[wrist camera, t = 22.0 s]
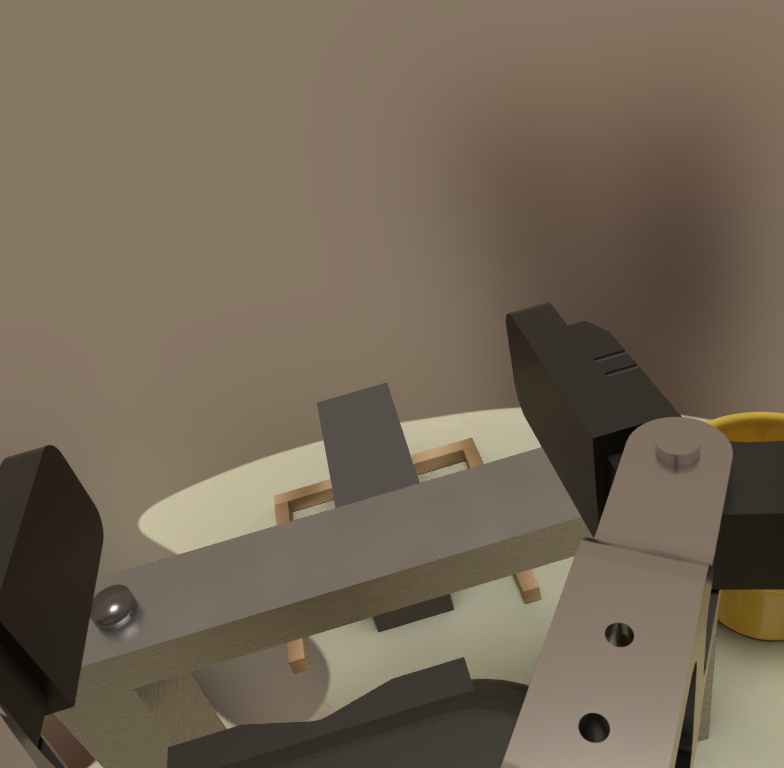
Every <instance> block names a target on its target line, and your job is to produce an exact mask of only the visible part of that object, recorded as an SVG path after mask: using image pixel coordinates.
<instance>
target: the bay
mask: <svg viewBox="0 0 784 768" xmlns="http://www.w3.org/2000/svg"><path fill="white" fill-rule="evenodd" d="M411 459H412V462H413V465H414V468H415V471H416V474H417V475H419V474H422V473H425V472H429V471H432V470H435V469H439V468H442V467H446V466H449V465H452V464H456V463H459V462H463V461H466V463H467V466H468V468H469V469H470V468H473V467H476V466H480V465H483V461H482V459H481V457H480V455H479V452H478V450H477V448H476V446H475V443H474V441H473V439H472V438H469V439H466V440H462V441H459V442H456V443H452V444H449V445H445V446H442V447H439V448H435V449H432V450H429V451H425V452H422V453H418V454H415V455H412V456H411ZM331 500H334V495H333V489H332V484H331V479H330V480H327V481H323V482H320V483H317V484H313V485H310V486H306V487H303V488H300V489H296V490H293V491H289V492H286V493H283V494H279V495H276V496H274V501H275V512H276V523H277V525H281V524H284V523H287V522H291V521H293V516H292V512H293V511H297V510H300V509H304V508H307V507H310V506H314V505H317V504H320V503H324V502H327V501H331ZM513 575H514V578H515V580H516V582H517V585H518V587H519V590H520V592H521V594H522V597H523V599H524V601H525V604H526V603H529V602H533V601H536V600H539V599H541V598H540V591H539V586H538V584H537V582H536V580H535V577H534V575H533V573H532V571H531V569H530V570H527V571H523V572H520V573H517V574H513ZM287 649H288V659H289V664H290V666H291V668H292V670H293V672H294V673H298V672H301V671H305V670H308V669H310V665H309V656H308V648H307V639H306V637H304V638H301V639H298V640H294V641H291V642H288V643H287Z"/></svg>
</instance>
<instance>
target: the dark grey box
mask: <svg viewBox="0 0 784 768" xmlns="http://www.w3.org/2000/svg"><path fill="white" fill-rule="evenodd" d="M317 406H318V411H319V417H320V422H321V428H322V434H323V439H324V445H325V450H326V456H327V461H328V467H329V473H330V478H331V484H332V489H333V495H334V501H335V506H336V508H338V507H341V506H345V505H348V504H351V503H355V502H358V501H362V500H365V499H368V498H372V497H375V496H379V495H382V494H385V493H389V492H392V491H395V490H399V489H402V488H406V487H409V486H412V485H416V484H419V480H418V477H417V474H416V471H415V468H414V465H413V462H412V459H411V456H410V453H409V449H408V446H407V443H406V440H405V437H404V434H403V431H402V428H401V425H400V422H399V419H398V415H397V412H396V409H395V406H394V403H393V400H392V397H391V394H390V391H389V388H388V385H387V383H384V384H381V385H377V386H374V387H370V388H367V389H363V390H360V391H356V392H353V393H349V394H346V395H342V396H339V397H336V398H332V399H329V400H325V401H322V402H318V403H317ZM451 610H454V608H453V604H452V600H451V596H450V594H447V595H444V596H440V597H437V598H434V599H430V600H427V601H424V602H420V603H417V604H414V605H410V606H407V607H404V608H400V609H397V610H394V611H391V612H387V613H384V614H381V615H377V616H374V617H373V619H374V621H375V624H376V627H377V629H378V632H381V631H385V630H388V629H391V628H395V627H398V626H401V625H405V624H408V623H411V622H415V621H418V620H421V619H425V618H428V617H431V616H435V615H438V614H441V613H445V612H448V611H451Z"/></svg>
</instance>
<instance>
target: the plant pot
mask: <svg viewBox="0 0 784 768" xmlns="http://www.w3.org/2000/svg"><path fill="white" fill-rule="evenodd" d="M706 423H708V424H710V425H712V426H714V427H715V428H717V429H718V430H720V431H721V432H722V433H723V434H724V435H725V436H726V437H727V439H728V440H729V441H735V442H765V441H784V413H775V412H748V413H738V414H733V415H728V416H723V417H720V418H717V419H713V420H711V421H708V422H706ZM718 620H719V621H720V622H721V623H722V624H724V625H725V626H727V627H729V628H730V629H732V630H734V631H736V632H738V633H740V634H743V635H746V636H749V637H752V638H756V639H762V640H784V590H721V595H720V601H719V608H718Z"/></svg>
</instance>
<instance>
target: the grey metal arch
mask: <svg viewBox="0 0 784 768" xmlns="http://www.w3.org/2000/svg"><path fill="white" fill-rule="evenodd" d="M680 416H681V415H680ZM681 417H682V416H681ZM585 537H587V538H592V539H593V537H592V535H591V533H590V531H589V530H588V528H587V526H586V524H585V523H584V521H583V519H582V517H581V515H580V514H579V512H578V510H577V508H576V507H575V505H574V503H573V501H572V499H571V498H570V496H569V494H568V492H567V491H566V489H565V487H564V485H563V484H562V482H561V480H560V478H559V476H558V475H557V473H556V471H555V469H554V468H553V466H552V464H551V462H550V460H549V459H548V457H547V455H546V453H545V452H544V450H543V448H542V447H541V448H537V449H534V450H530V451H527V452H524V453H520V454H517V455H514V456H510V457H507V458H503V459H500V460H497V461H493V462H490V463H487V464H483V465H480V466H476V467H473V468H470V469H466V470H463V471H460V472H456V473H453V474H449V475H446V476H443V477H439V478H436V479H433V480H429V481H426V482H422V483H419V484H416V485H412V486H409V487H406V488H402V489H399V490H395V491H392V492H389V493H385V494H382V495H379V496H375V497H372V498H368V499H365V500H362V501H358V502H355V503H351V504H348V505H345V506H341V507H338V508H335V509H331V510H328V511H324V512H321V513H318V514H314V515H311V516H308V517H304V518H301V519H297V520H294V521H291V522H287V523H284V524H281V525H277V526H274V527H270V528H267V529H264V530H260V531H257V532H254V533H250V534H247V535H243V536H240V537H237V538H233V539H230V540H227V541H223V542H220V543H216V544H213V545H210V546H206V547H203V548H199V549H196V550H193V551H189V552H186V553H183V554H179V555H176V556H172V557H169V558H166V559H162V560H159V561H156V562H152V563H149V564H146V565H142V566H139V567H136V568H132V569H129V570H125V571H122V572H119V573H116V574H112V575H108V576H105V577H102V578H98V579H97V580H96V586H95V591H94V597H93V603H92V609H91V614H90V620H89V626H88V631H87V637H86V643H85V649H84V654H83V660H82V666H81V672H80V677H79V683H78V689H77V695H76V700H75V706H74V707H72V708H69V709H65V710H62V711H59V712H56V713H54V714H55V715H56V716H57V717H58V718H59V719H60V721H61V722H62V723H63V724H64V725H65V726H66V727H67V728H68V729H69V730H70V731H71V733H72V734H73V735H74V736H75V737H76V738H77V739H78V740H79V741H80V743H81V744H82V745H83V746H84V747H85V748H86V749H87V750H88V751H89V752H90V754H91V755H92V756H93V757H94V758H95V759H96V760H97V761H98V762H99V763H100V765H101V766H102V767H103V768H167V755H168V747H170V746H174V745H177V744H180V743H183V742H187V741H190V740H193V739H197V738H200V737H203V736H206V735H210V734H213V733H216V732H220V731H223V730H226V727H225V726H224V724H223V723H222V721H221V720H220V718H219V717H218V715H217V714H216V712H215V711H214V709H213V708H212V706H211V705H210V703H209V702H208V700H207V699H206V697H205V696H204V695H203V693H202V691H201V690H200V688H199V687H198V685H197V684H196V682H195V681H194V680H193V678H192V676H191V675H190V673H189V672H191V671H195V670H198V669H201V668H205V667H208V666H211V665H215V664H218V663H221V662H225V661H228V660H231V659H235V658H238V657H241V656H244V655H248V654H251V653H254V652H258V651H261V650H264V649H268V648H271V647H274V646H277V645H281V644H284V643H288V642H291V641H294V640H298V639H301V638H304V637H308V636H311V635H314V634H318V633H321V632H324V631H327V630H331V629H334V628H337V627H341V626H344V625H347V624H351V623H354V622H357V621H361V620H364V619H367V618H371V617H374V616H377V615H381V614H384V613H387V612H391V611H394V610H397V609H400V608H404V607H407V606H410V605H414V604H417V603H420V602H424V601H427V600H430V599H434V598H437V597H440V596H444V595H447V594H450V593H454V592H457V591H460V590H464V589H467V588H470V587H474V586H477V585H480V584H483V583H487V582H490V581H493V580H497V579H500V578H503V577H507V576H510V575H513V574H517V573H520V572H523V571H527V570H530V569H533V568H537V567H540V566H543V565H547V564H550V563H553V562H556V561H560V560H563V559H566V558H570V557H573V556H575V554H576V552H577V549H578V547H579V545H580V543H581V541H582V540H583V539H584V538H585ZM718 608H719V607H718ZM717 620H718V613H717V619H716V625H715V630H714V636H713V642H712V648H711V654H710V659H709V665H708V671H707V677H706V683H705V689H704V695H703V702H702V710H701V719H700V727H699V734H698V741H700V740H703V739H706V738H708V734H709V721H710V708H711V696H712V683H713V671H714V658H715V645H716V633H717Z"/></svg>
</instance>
